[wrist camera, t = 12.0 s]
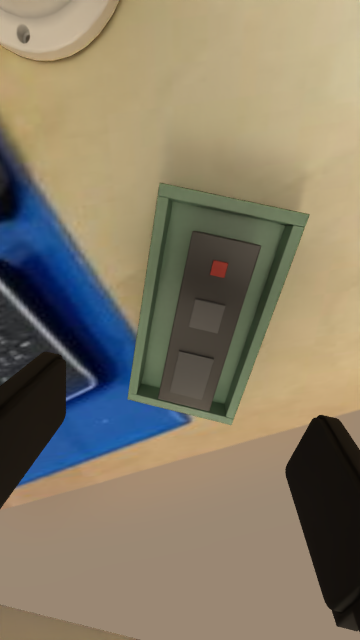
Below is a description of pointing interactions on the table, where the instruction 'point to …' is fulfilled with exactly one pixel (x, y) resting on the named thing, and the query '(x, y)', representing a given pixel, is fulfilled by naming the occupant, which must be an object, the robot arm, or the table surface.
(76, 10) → the robot arm
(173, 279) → the tray
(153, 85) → the table surface
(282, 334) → the table surface
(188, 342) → the remote
